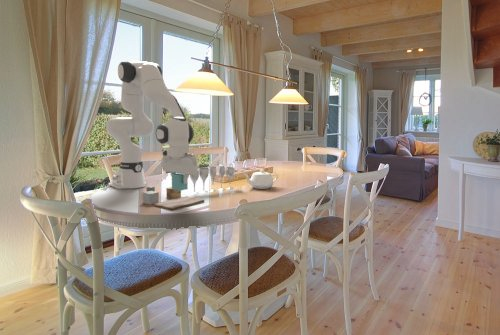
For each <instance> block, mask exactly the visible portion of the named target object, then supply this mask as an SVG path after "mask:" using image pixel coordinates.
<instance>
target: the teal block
mask: <svg viewBox="0 0 500 335" xmlns="http://www.w3.org/2000/svg"><path fill="white" fill-rule="evenodd" d="M183 179H184V175H183V174H181V173H176V174H172V176H171V187H172V189H173V190H178V191H181V192H182V191H184V190H188V189H189V188H188V179H187V184H183V183H182V180H183Z"/></svg>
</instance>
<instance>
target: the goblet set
mask: <svg viewBox="0 0 500 335" xmlns="http://www.w3.org/2000/svg"><path fill="white" fill-rule="evenodd" d="M209 175H210V179H211V182H212V184H214V181H215V178H216V175H217V166H210V167H199V169H198V173H197V174H196V175H189V178H190V179H191V180H190V181H192V183H193V191H192V192H190V194H191V195H198V194H200V193H201V194H206V193H209V192H217V190H218V191H225V190H234V189H235V187H231V186H229V187H226V188H223V179H224V176H226V177H227V178H228V180H229V183H232V182H231V181H232V179H233V177H234V176H235V175H236V168H235V167H234V166H233V167H232V166H228V167H227V166H226V167H225V166H222V165H220V166H218V175H219V178H220V182H221V184H220V185H221V187H220V188H219V189H217V190H216V189H211V190H209V191H208V190H205V182H206V180H207V178H208V177H209ZM199 177H200V179H201V181H202V183H203V190H200V191H199V192H198V191H196V190H195V189H196V184H197V181H198V180H199Z"/></svg>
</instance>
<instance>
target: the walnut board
mask: <svg viewBox="0 0 500 335" xmlns="http://www.w3.org/2000/svg"><path fill="white" fill-rule="evenodd" d="M198 203H199V204H203V203H205V199H201V198H197V197H192V196H187V195H185V196H181V197H180V198H176V199H168V200H164V201H161V202H160V201H159V203H155V204H153V206H154V207H156V206H157V208H160V207H161V209H164V208H165V210H168V211H176V210H181V209H183V207H184V208H187V207H191V206H194V204H195V205H199V204H198ZM190 205H191V206H190Z"/></svg>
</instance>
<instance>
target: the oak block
mask: <svg viewBox="0 0 500 335" xmlns="http://www.w3.org/2000/svg"><path fill="white" fill-rule="evenodd" d="M165 191H166V199H170V200H172V199H177V198H181V197H182V190H181V191H178V190H173V189H172V186H169V187H166V190H165Z"/></svg>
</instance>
